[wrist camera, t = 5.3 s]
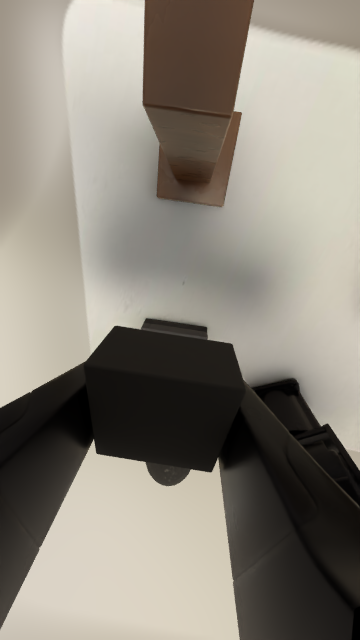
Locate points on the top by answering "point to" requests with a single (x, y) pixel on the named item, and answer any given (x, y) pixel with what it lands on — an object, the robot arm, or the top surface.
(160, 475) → the light bulb
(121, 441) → the black block
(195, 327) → the base pad
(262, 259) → the top surface
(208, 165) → the stand
